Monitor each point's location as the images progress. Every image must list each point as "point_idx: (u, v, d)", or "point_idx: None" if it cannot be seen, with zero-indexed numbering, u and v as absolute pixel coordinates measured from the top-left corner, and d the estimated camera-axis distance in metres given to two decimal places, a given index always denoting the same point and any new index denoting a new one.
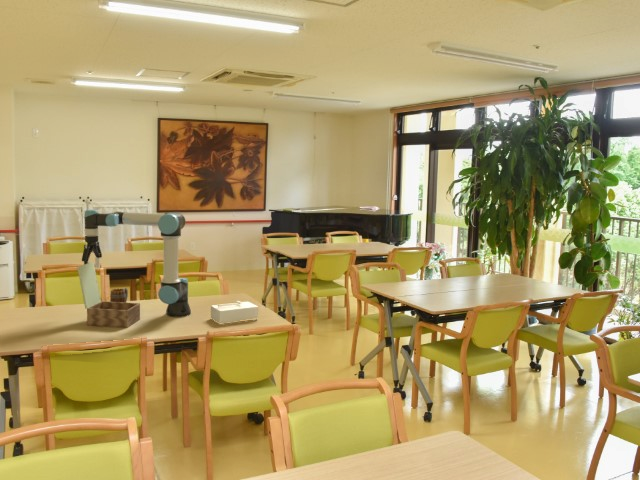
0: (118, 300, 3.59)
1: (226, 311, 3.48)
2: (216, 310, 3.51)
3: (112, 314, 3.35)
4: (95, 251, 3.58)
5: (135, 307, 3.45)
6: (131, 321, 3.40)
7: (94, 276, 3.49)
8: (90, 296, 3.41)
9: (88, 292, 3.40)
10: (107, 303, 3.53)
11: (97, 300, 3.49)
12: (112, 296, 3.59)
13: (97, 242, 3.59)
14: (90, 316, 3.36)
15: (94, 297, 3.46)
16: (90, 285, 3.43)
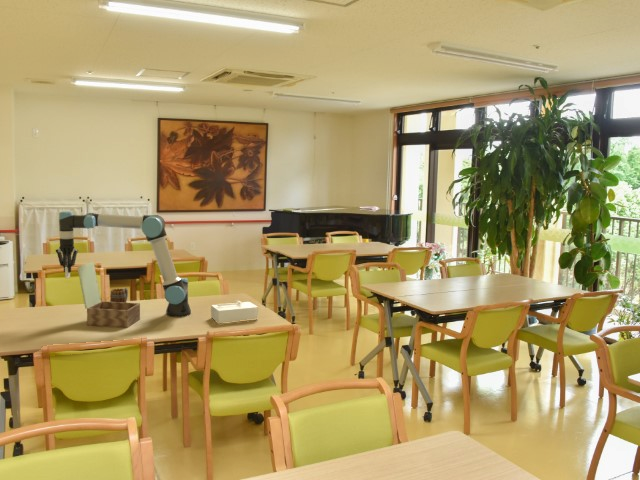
0: (118, 300, 3.59)
1: (225, 311, 3.49)
2: (215, 310, 3.52)
3: (112, 314, 3.35)
4: None
5: (135, 307, 3.45)
6: (131, 321, 3.40)
7: (94, 276, 3.49)
8: (90, 296, 3.41)
9: (88, 292, 3.40)
10: (107, 303, 3.53)
11: (97, 300, 3.49)
12: (112, 296, 3.59)
13: (75, 250, 3.41)
14: (90, 316, 3.36)
15: (94, 297, 3.46)
16: (90, 285, 3.43)
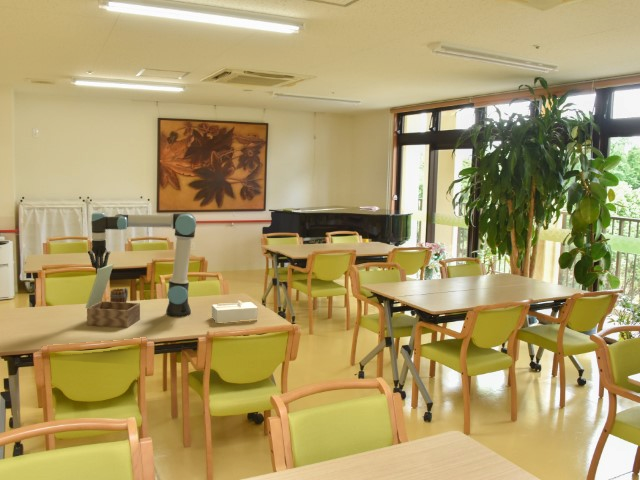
0: (118, 300, 3.59)
1: (223, 311, 3.49)
2: (215, 309, 3.53)
3: (112, 314, 3.35)
4: None
5: (135, 307, 3.45)
6: (131, 321, 3.40)
7: (107, 277, 3.49)
8: (94, 297, 3.41)
9: (95, 293, 3.40)
10: (107, 303, 3.53)
11: (98, 300, 3.49)
12: (112, 296, 3.59)
13: (107, 252, 3.39)
14: (90, 316, 3.36)
15: (97, 297, 3.46)
16: (100, 286, 3.43)
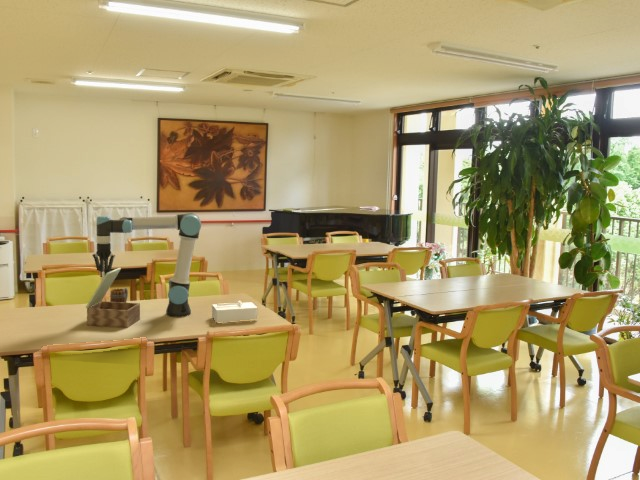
0: (118, 300, 3.59)
1: (223, 310, 3.49)
2: (214, 309, 3.53)
3: (112, 314, 3.35)
4: None
5: (135, 307, 3.45)
6: (131, 321, 3.40)
7: (112, 280, 3.49)
8: (96, 298, 3.41)
9: (98, 294, 3.40)
10: (107, 303, 3.53)
11: (99, 300, 3.49)
12: (112, 296, 3.59)
13: (112, 255, 3.39)
14: (90, 316, 3.36)
15: (99, 298, 3.46)
16: (104, 288, 3.43)
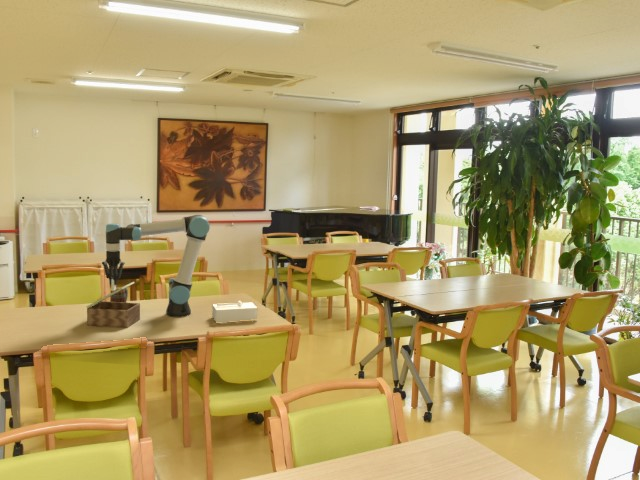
0: (118, 300, 3.59)
1: (222, 310, 3.49)
2: (214, 309, 3.53)
3: (112, 314, 3.35)
4: None
5: (135, 307, 3.45)
6: (131, 321, 3.40)
7: (121, 289, 3.49)
8: None
9: (102, 299, 3.40)
10: (107, 303, 3.53)
11: (100, 301, 3.49)
12: (112, 296, 3.59)
13: (122, 262, 3.39)
14: (90, 316, 3.36)
15: None
16: None
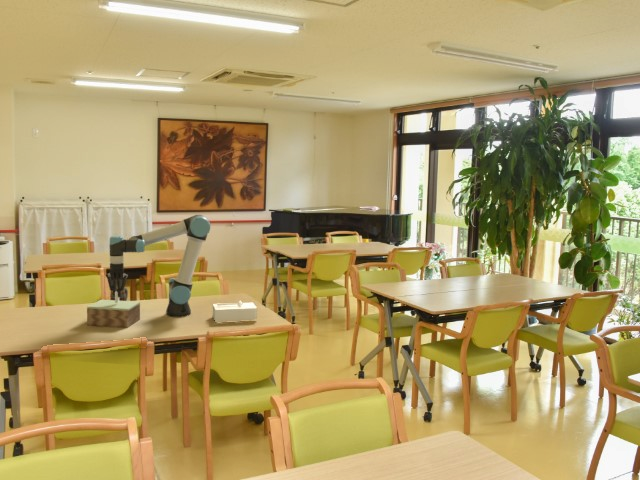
0: None
1: (222, 310, 3.50)
2: (214, 309, 3.54)
3: (112, 314, 3.35)
4: None
5: (135, 307, 3.45)
6: (131, 321, 3.40)
7: None
8: None
9: None
10: None
11: None
12: (112, 296, 3.59)
13: (125, 275, 3.40)
14: (90, 316, 3.36)
15: None
16: None
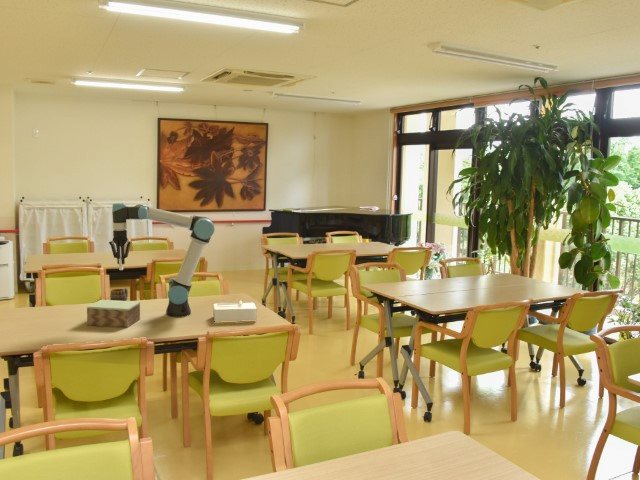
0: (118, 300, 3.59)
1: (221, 310, 3.50)
2: (214, 308, 3.55)
3: (112, 314, 3.35)
4: None
5: (135, 307, 3.45)
6: (131, 321, 3.40)
7: None
8: None
9: None
10: None
11: None
12: (112, 296, 3.59)
13: (129, 241, 3.41)
14: (90, 316, 3.36)
15: None
16: None
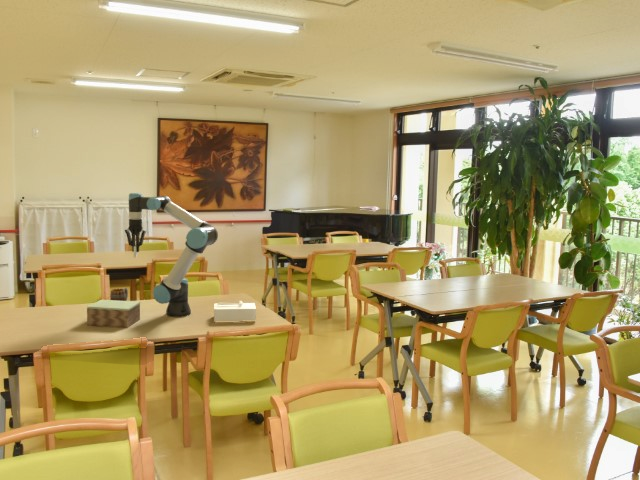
0: (118, 300, 3.59)
1: (220, 310, 3.51)
2: (214, 308, 3.55)
3: (112, 314, 3.35)
4: None
5: (135, 307, 3.45)
6: (131, 321, 3.40)
7: None
8: None
9: None
10: None
11: None
12: (112, 296, 3.59)
13: (144, 230, 3.54)
14: (90, 316, 3.36)
15: None
16: None
